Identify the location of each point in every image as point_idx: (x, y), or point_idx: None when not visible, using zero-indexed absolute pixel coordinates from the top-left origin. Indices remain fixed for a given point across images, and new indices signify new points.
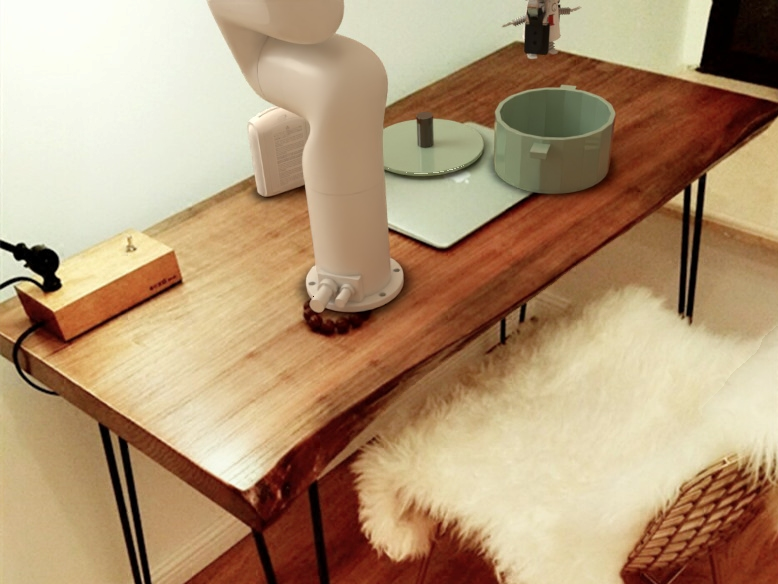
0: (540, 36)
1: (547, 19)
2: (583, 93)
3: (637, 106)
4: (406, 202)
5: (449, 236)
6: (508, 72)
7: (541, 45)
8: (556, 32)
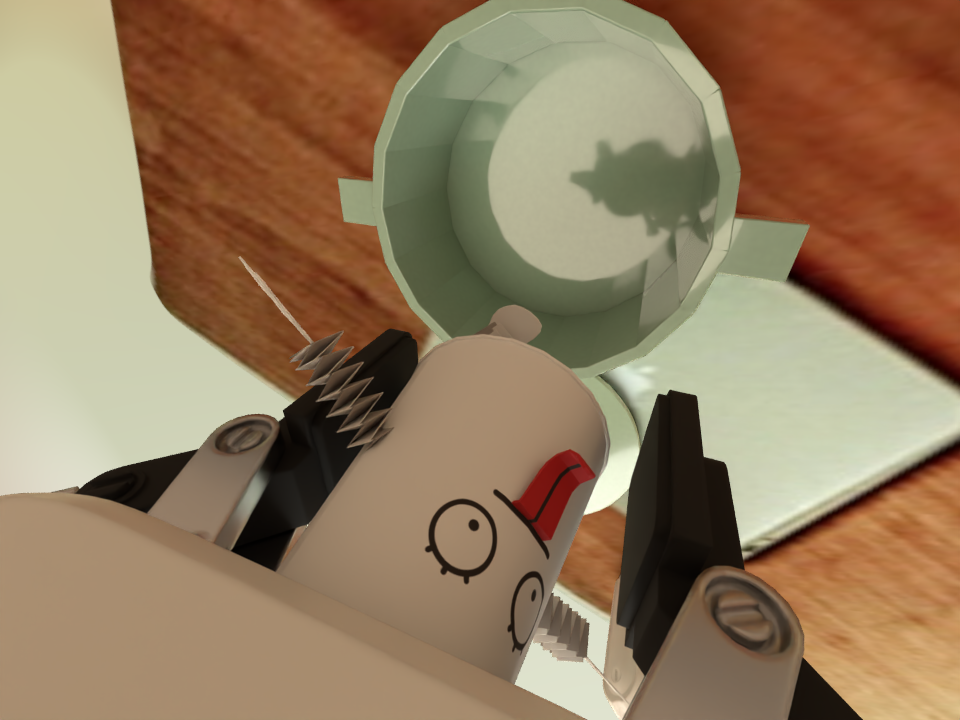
0: (734, 530)
1: (700, 598)
2: (387, 149)
3: (248, 14)
4: (734, 469)
5: (921, 402)
6: (244, 311)
7: (718, 469)
8: (533, 384)
